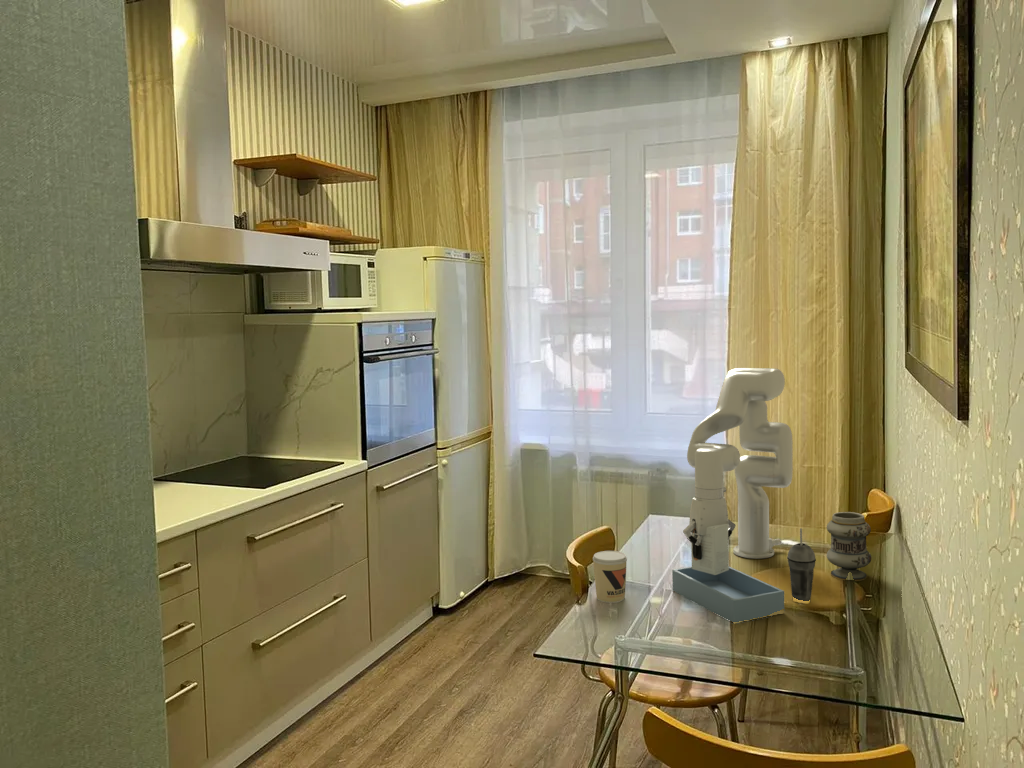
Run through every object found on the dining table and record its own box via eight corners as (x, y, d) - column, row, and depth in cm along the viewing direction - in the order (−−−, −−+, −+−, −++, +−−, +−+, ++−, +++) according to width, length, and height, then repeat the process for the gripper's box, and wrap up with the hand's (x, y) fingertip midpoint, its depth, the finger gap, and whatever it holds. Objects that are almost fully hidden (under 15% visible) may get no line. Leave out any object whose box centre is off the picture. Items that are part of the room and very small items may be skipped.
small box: (729, 570, 223) (728, 524, 222) (714, 575, 219) (714, 528, 218) (705, 564, 229) (704, 518, 228) (690, 569, 225) (690, 523, 224)
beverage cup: (817, 598, 218) (817, 525, 217) (814, 607, 212) (814, 532, 210) (788, 594, 222) (788, 523, 220) (785, 603, 215) (785, 529, 213)
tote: (718, 582, 234) (718, 561, 233) (784, 613, 208) (784, 591, 208) (672, 590, 228) (672, 569, 227) (734, 624, 202) (733, 600, 202)
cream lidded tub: (606, 606, 217) (605, 562, 216) (587, 596, 226) (586, 553, 225) (634, 599, 222) (633, 556, 221) (615, 589, 230) (614, 548, 229)
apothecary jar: (837, 566, 244) (837, 507, 242) (878, 574, 235) (878, 513, 234) (819, 576, 236) (819, 515, 234) (861, 585, 227) (861, 522, 225)
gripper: (727, 487, 229) (727, 548, 230) (674, 494, 222) (675, 557, 224) (744, 492, 222) (744, 555, 223) (690, 499, 215) (690, 564, 217)
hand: (709, 556), depth 223 cm, fingers closed on small box, 7 cm apart
